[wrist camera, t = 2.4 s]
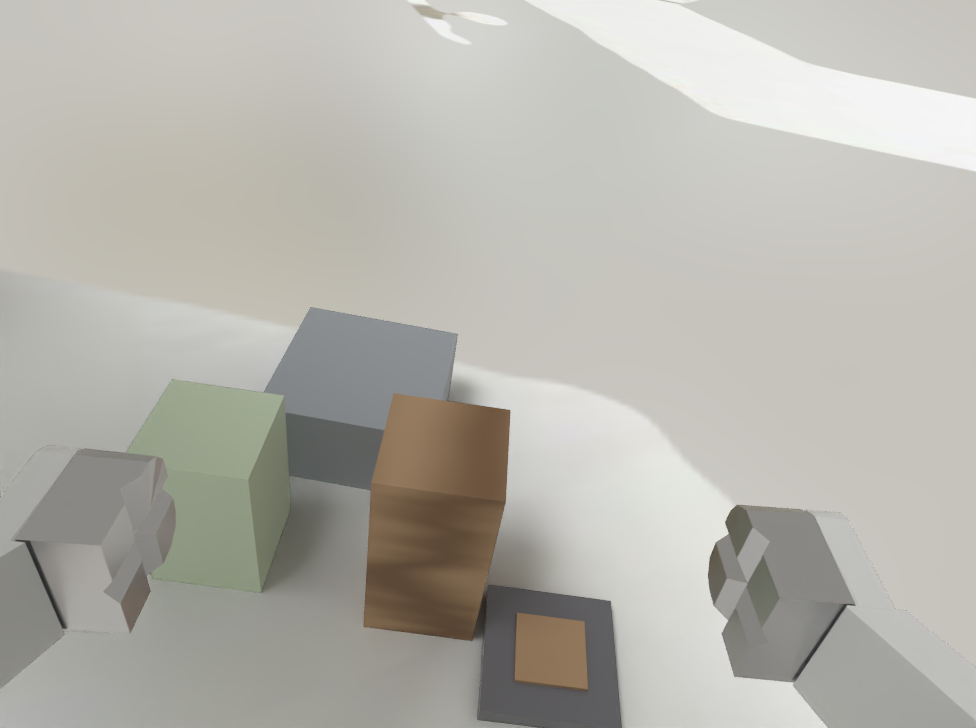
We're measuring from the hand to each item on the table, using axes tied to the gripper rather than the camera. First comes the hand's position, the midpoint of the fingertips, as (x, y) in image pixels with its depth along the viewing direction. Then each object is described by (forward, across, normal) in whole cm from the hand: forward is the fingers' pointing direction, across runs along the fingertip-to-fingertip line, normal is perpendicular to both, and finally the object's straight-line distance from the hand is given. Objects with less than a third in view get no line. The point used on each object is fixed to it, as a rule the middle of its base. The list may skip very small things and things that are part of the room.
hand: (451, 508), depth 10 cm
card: (+11, -5, +22) cm, 25 cm away
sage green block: (+15, +10, +21) cm, 28 cm away
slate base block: (+24, +5, +21) cm, 32 cm away
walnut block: (+14, 0, +21) cm, 26 cm away
